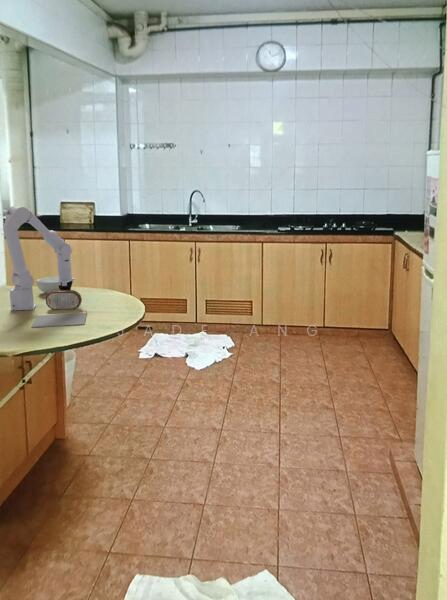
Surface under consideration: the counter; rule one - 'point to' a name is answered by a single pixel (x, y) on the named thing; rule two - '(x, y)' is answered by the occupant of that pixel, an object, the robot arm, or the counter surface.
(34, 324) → the mat
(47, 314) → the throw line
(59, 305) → the tin
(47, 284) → the cereal bowl
